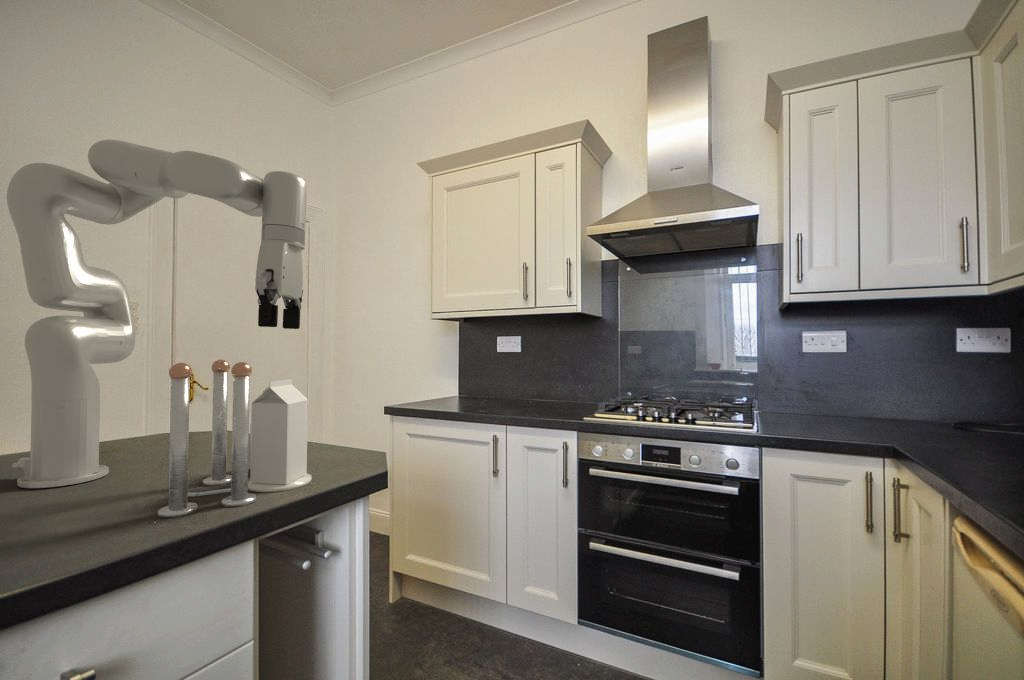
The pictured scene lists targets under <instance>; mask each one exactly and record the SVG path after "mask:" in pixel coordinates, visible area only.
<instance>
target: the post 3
mask: <svg viewBox="0 0 1024 680" xmlns="http://www.w3.org/2000/svg"><path fill="white" fill-rule="evenodd" d="M230 372H231V376H232V416H231V417H232V420H231V421H232V423H231V425H232V426H231V427H232V428H231V430H232V431H231V432H232V433H231V474H230V475H231V482H230V486H231V487H230V488H231V492H230V495H229V496H226V497H224V498H223V499H222V500H221V506H222V507H224V508H236V507H242V506H243V507H244V506H247V505H250V504H253V503H255V502H256V501H257V494H255V493H251V492H250V493H249V489H248V482H249V443H250V442H249V439H250V390H251V389H250V384H251V383H250V382H251V381H250V380H251V378H250V377H251V375H252V372H253V369H252V366H251V365H250V364H249V363H247V362H245V361H239V362H236V363H235V364H234V365H232V367H231V371H230Z"/></svg>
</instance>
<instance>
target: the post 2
mask: <svg viewBox="0 0 1024 680" xmlns="http://www.w3.org/2000/svg"><path fill="white" fill-rule="evenodd" d="M230 368H231V365H230V363H229V362H228V361H227V360H225V359H216V360H215V361H214V362H213V363H212V365H211V371H212V373H213V374H212V377H213V378H212V379H213V380H212V420H211V421H212V424H211V425H212V426H211V427H212V428H211V429H212V430H211V431H212V432H211V476H209V477H206V478H204V479H203V480H202V485H204V486H207V487H208V486H209V487H210V486H212V487H213V486H215V487H216V486H222V485H226V484H227V485H228V484H231V474H227V459H228V458H227V454H228V453H227V451H228V450H227V448H228V445H227V443H228V442H227V441H228V402H229V401H228V399H229V397H228V396H229V395H228V392H229V389H228V386H229V372H230Z"/></svg>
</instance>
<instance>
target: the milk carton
mask: <svg viewBox="0 0 1024 680" xmlns="http://www.w3.org/2000/svg"><path fill="white" fill-rule="evenodd" d="M308 401H309V400H308V398H307V397H306V396H305V395H304V394H303V393H302V392H301V391H300V390H298V389H297V388H296V387H295V386H294V385H293V379H292V378H290V379H289V378H287V379H283V380H281V379H280V380H273V381H269V384H268V387H266V388H265V389H264V390H263V392H262V393H261V394H259V396H258V397H257V398H256V399H255V400H254V399H253V401H252V402H251V409H250V410H251V416H250V417H251V418H250V420H251V421H250V422H251V423H250V424H251V444H250V473H249V474H250V479H249V481H250V483H259V484H288V483H290V482H292V481H294V480H296V479H298V478H300V477H302V476H304V475H306V474H307V472H308V471H307V469H308V468H307V467H308V415H309V413H308V412H309V408H308V406H309V402H308Z"/></svg>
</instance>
